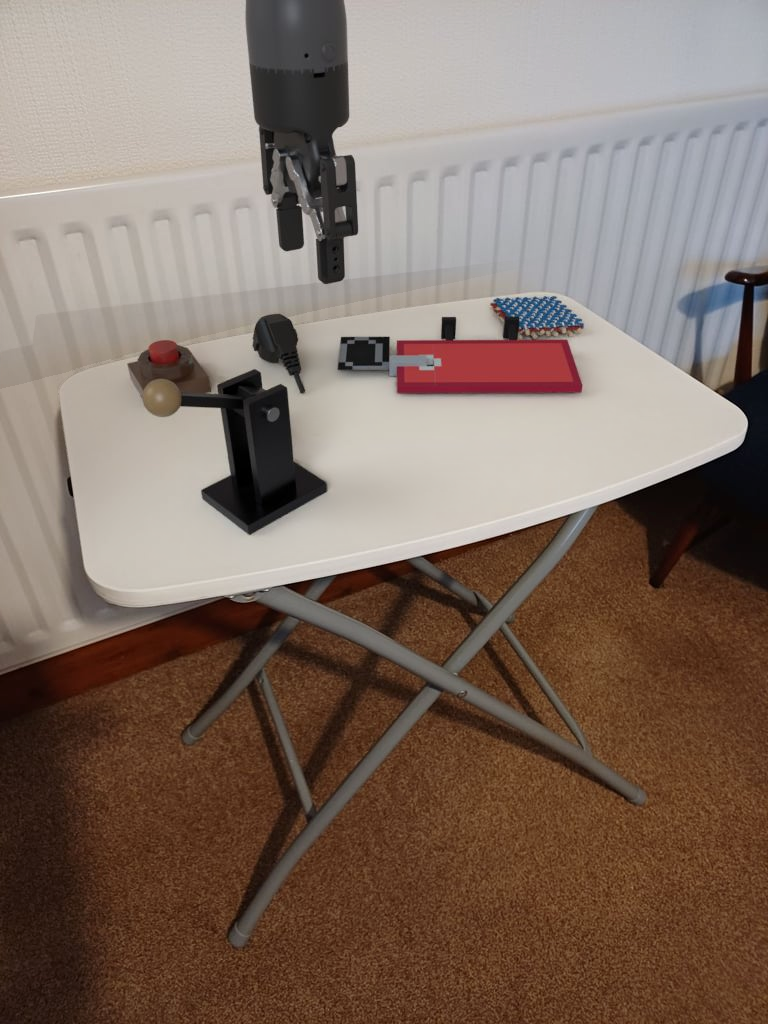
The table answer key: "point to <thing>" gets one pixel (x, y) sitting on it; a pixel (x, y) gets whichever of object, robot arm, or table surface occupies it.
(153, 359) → the button
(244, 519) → the switch bracket
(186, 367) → the button block
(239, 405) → the switch lever
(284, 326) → the power plug
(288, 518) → the table surface
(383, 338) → the red board with handle
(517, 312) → the woven mat
